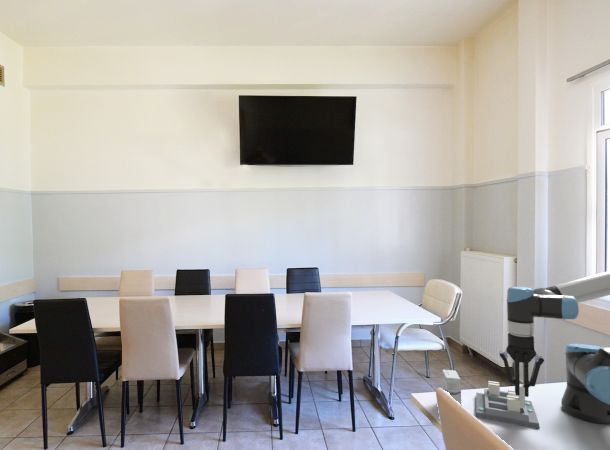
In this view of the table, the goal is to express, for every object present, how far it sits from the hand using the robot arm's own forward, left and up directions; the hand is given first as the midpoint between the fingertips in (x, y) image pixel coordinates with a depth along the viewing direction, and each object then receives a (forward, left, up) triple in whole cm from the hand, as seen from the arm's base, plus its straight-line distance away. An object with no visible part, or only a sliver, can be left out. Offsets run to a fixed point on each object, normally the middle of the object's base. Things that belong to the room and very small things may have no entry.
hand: (521, 405), depth 118 cm
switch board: (+5, -6, -5) cm, 9 cm away
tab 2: (+2, -6, -4) cm, 7 cm away
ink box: (+22, -2, -5) cm, 22 cm away
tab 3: (+2, 0, -4) cm, 4 cm away
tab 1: (+8, -11, -4) cm, 14 cm away
